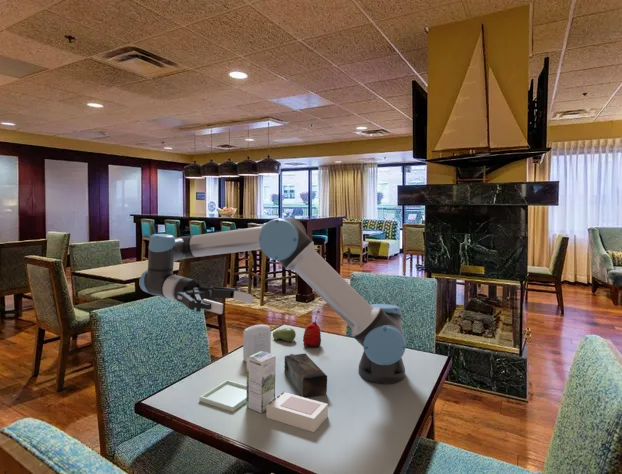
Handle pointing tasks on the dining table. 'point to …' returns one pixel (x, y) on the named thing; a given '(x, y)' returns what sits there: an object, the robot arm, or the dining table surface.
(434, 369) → the dining table surface
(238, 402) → the tray
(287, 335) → the pear
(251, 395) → the syrup box
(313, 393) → the beverage carton
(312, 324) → the red clay folk toy
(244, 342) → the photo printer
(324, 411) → the pink-topped slotted block
